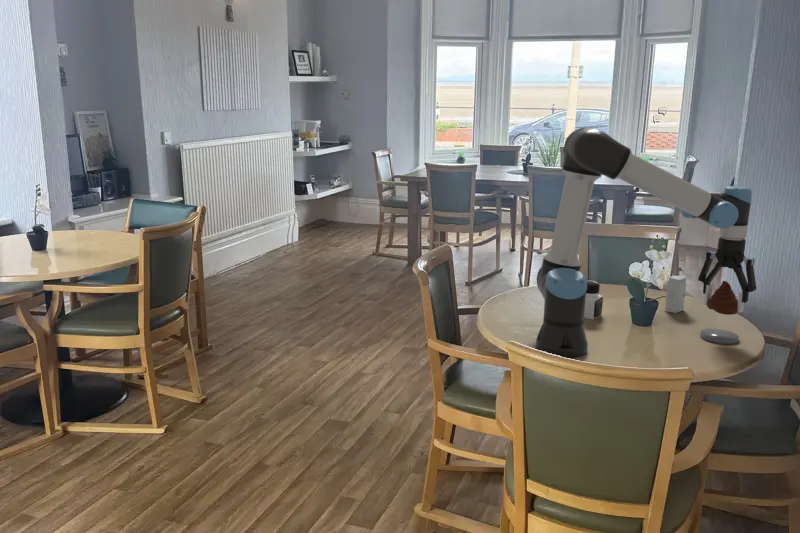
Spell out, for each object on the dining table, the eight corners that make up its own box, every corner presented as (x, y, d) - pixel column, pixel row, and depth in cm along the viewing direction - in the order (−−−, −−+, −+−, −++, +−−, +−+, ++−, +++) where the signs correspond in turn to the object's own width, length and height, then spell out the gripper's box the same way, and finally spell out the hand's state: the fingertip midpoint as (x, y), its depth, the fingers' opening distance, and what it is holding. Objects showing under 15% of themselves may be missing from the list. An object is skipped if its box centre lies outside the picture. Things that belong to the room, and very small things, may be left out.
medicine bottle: (593, 320, 235) (596, 286, 232) (573, 316, 239) (576, 282, 236) (601, 315, 240) (604, 281, 237) (582, 311, 245) (584, 278, 242)
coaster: (728, 347, 212) (729, 343, 212) (693, 337, 220) (694, 333, 220) (744, 338, 219) (744, 335, 219) (710, 329, 227) (710, 326, 227)
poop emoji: (700, 306, 220) (703, 278, 218) (723, 304, 222) (727, 276, 220) (721, 316, 211) (725, 286, 209) (745, 314, 213) (750, 285, 211)
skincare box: (676, 313, 243) (679, 280, 240) (663, 310, 246) (667, 277, 243) (683, 309, 247) (687, 277, 244) (671, 307, 250) (675, 274, 247)
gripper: (775, 242, 206) (765, 314, 211) (702, 230, 222) (694, 297, 227) (765, 245, 201) (755, 319, 206) (691, 233, 217) (683, 302, 223)
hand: (723, 308), depth 217 cm, fingers closed on poop emoji, 9 cm apart
